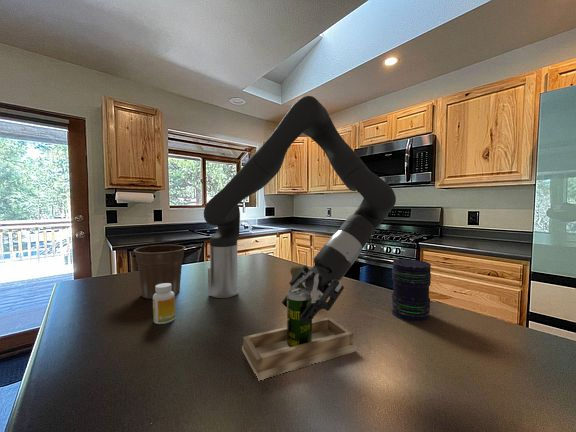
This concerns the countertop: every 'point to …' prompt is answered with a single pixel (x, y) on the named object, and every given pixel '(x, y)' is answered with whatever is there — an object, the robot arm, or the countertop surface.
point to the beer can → (298, 317)
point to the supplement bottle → (163, 304)
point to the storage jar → (411, 290)
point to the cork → (295, 271)
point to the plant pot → (159, 267)
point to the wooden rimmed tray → (296, 348)
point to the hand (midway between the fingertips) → (293, 313)
